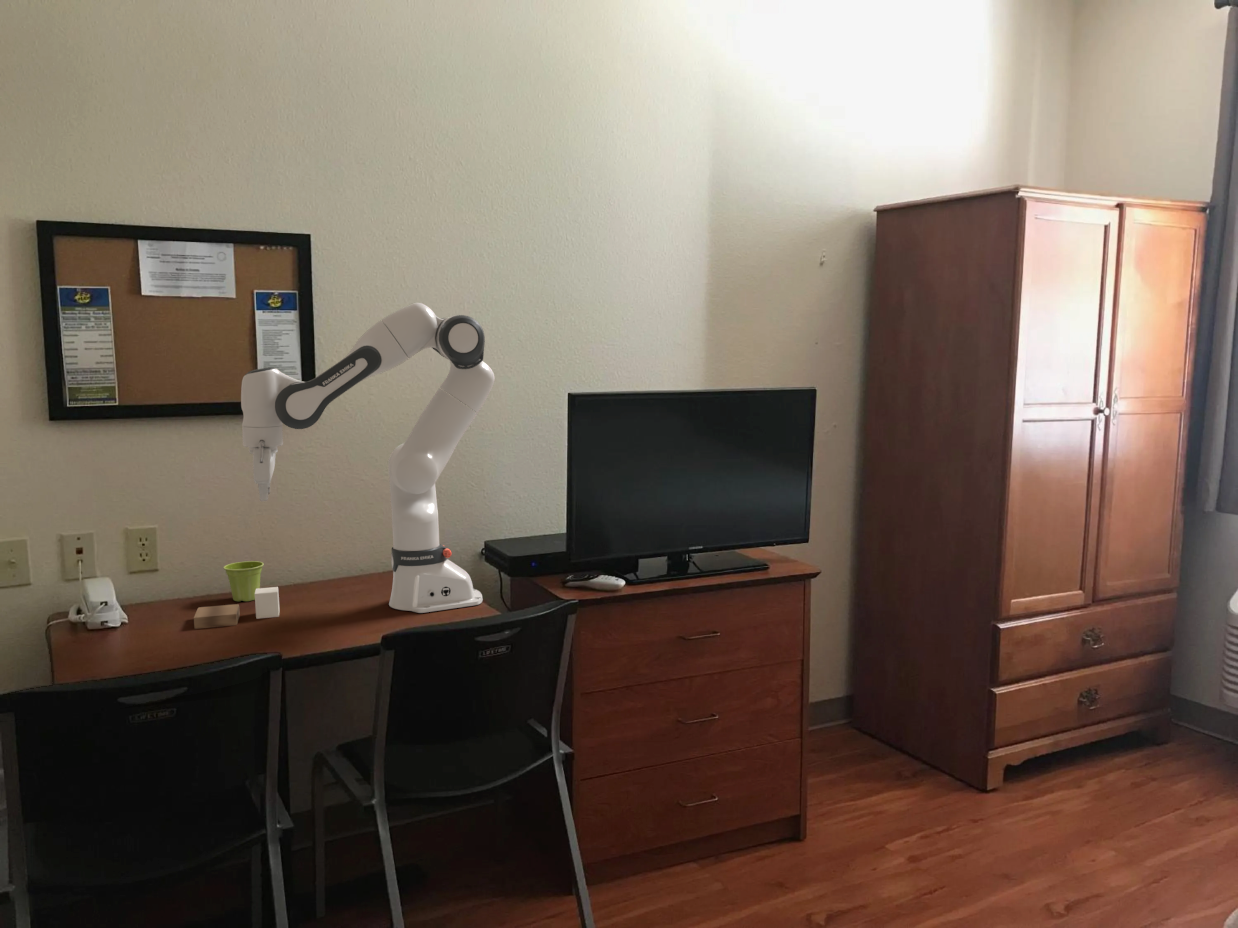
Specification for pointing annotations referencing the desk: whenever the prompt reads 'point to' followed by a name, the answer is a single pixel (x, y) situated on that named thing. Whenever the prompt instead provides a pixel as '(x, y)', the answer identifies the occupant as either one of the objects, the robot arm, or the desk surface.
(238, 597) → the plant pot
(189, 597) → the desk surface
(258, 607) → the white block
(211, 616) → the walnut slab
